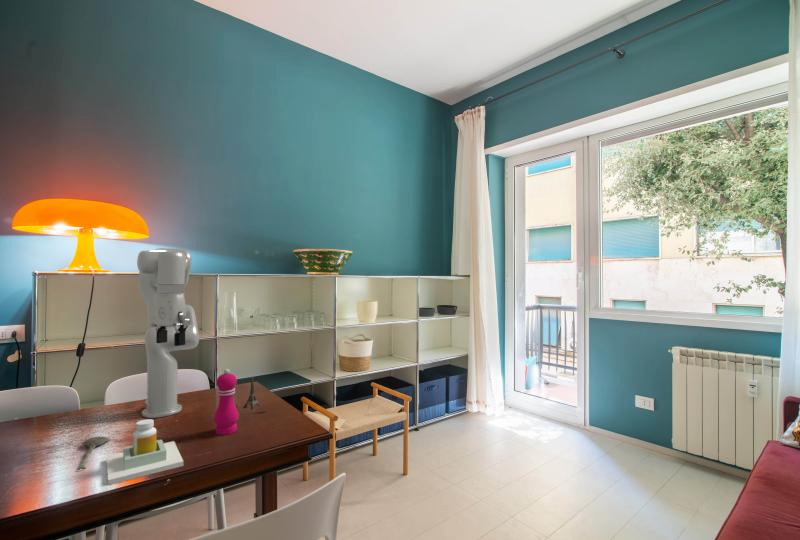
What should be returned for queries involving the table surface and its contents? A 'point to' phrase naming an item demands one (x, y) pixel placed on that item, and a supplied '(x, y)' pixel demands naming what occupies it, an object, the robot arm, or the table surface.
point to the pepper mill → (226, 404)
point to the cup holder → (142, 462)
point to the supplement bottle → (144, 437)
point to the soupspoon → (92, 447)
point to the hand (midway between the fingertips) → (170, 344)
